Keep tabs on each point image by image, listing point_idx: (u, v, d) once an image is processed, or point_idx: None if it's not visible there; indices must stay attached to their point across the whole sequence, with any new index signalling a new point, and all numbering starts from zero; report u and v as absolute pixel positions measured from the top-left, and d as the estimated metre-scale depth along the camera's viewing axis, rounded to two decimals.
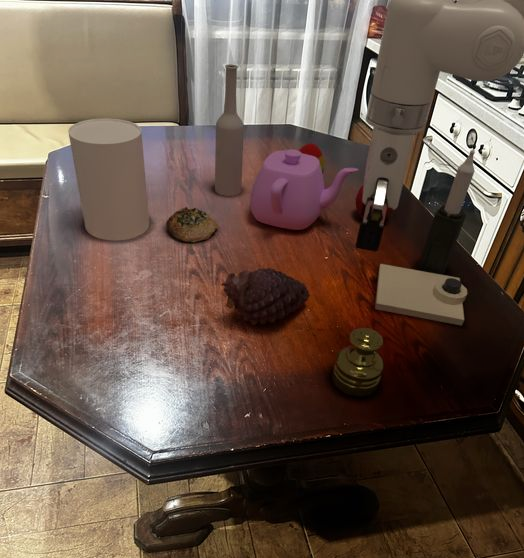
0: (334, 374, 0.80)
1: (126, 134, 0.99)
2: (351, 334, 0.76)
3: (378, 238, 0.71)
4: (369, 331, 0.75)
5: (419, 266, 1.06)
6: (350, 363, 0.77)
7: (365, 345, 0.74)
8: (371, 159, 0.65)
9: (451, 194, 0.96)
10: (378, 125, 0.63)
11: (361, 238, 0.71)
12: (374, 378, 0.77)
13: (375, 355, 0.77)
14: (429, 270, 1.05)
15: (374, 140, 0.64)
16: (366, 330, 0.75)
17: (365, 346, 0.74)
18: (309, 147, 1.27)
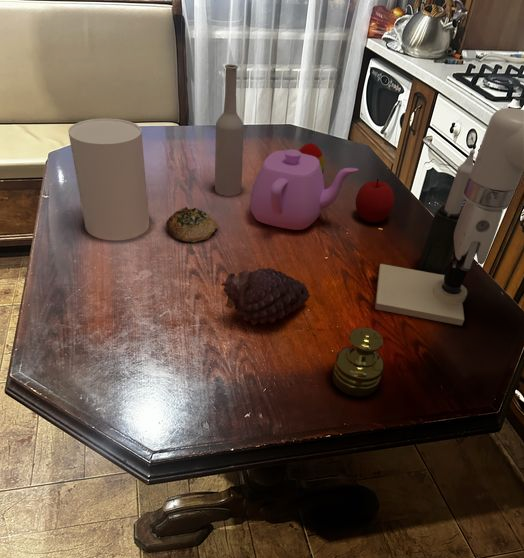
0: (334, 374, 0.80)
1: (126, 134, 0.99)
2: (351, 334, 0.76)
3: (462, 277, 0.95)
4: (369, 331, 0.75)
5: (419, 266, 1.06)
6: (350, 363, 0.77)
7: (365, 345, 0.74)
8: (468, 227, 0.85)
9: (451, 194, 0.96)
10: (475, 203, 0.83)
11: (449, 277, 0.95)
12: (374, 378, 0.77)
13: (375, 355, 0.77)
14: (429, 270, 1.05)
15: (471, 214, 0.84)
16: (366, 330, 0.75)
17: (365, 346, 0.74)
18: (309, 147, 1.27)
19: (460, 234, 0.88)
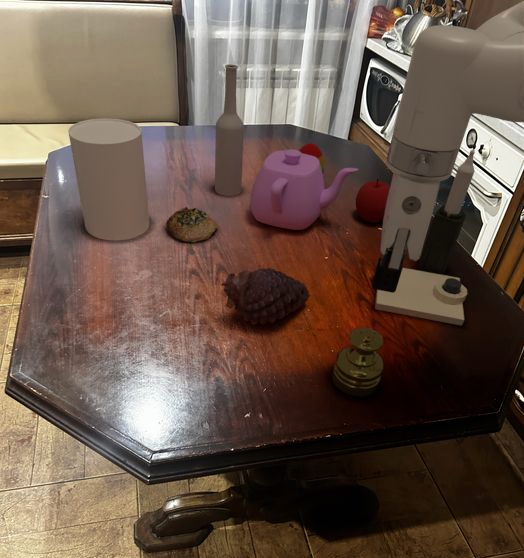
0: (334, 374, 0.80)
1: (126, 134, 0.99)
2: (351, 334, 0.76)
3: (396, 280, 0.68)
4: (369, 331, 0.75)
5: (419, 266, 1.06)
6: (350, 363, 0.77)
7: (365, 345, 0.74)
8: (391, 208, 0.58)
9: (451, 194, 0.96)
10: (401, 171, 0.57)
11: (378, 279, 0.69)
12: (374, 378, 0.77)
13: (375, 355, 0.77)
14: (429, 270, 1.05)
15: (395, 187, 0.58)
16: (366, 330, 0.75)
17: (365, 346, 0.74)
18: (309, 147, 1.27)
19: (385, 218, 0.61)
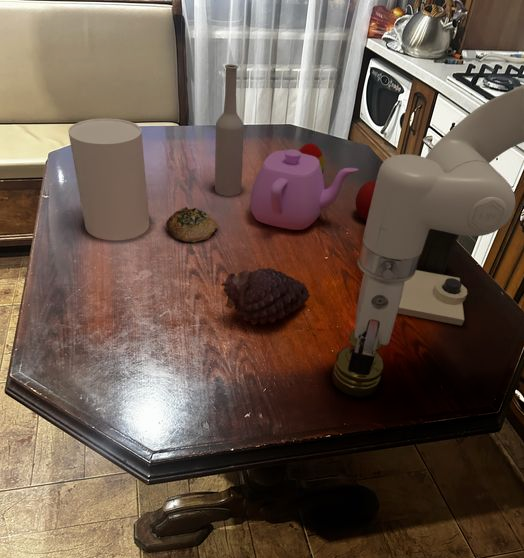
0: (334, 374, 0.80)
1: (126, 134, 0.99)
2: (351, 334, 0.75)
3: (369, 365, 0.74)
4: None
5: (419, 266, 1.06)
6: None
7: None
8: (363, 303, 0.66)
9: None
10: (370, 273, 0.64)
11: (353, 364, 0.75)
12: (374, 378, 0.76)
13: (375, 355, 0.77)
14: (429, 270, 1.05)
15: (365, 286, 0.65)
16: None
17: None
18: (309, 147, 1.27)
19: (357, 308, 0.69)
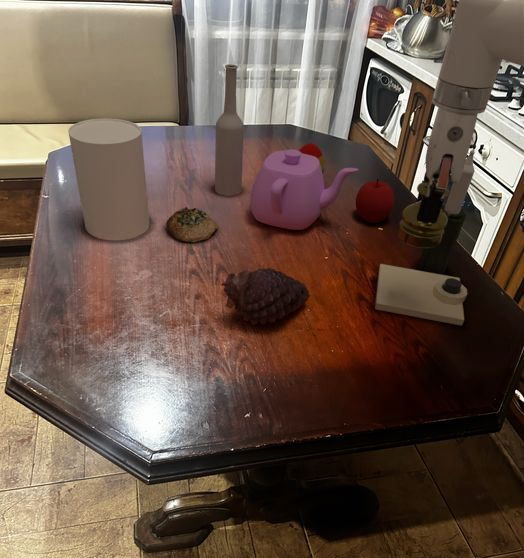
0: (401, 229, 0.86)
1: (126, 134, 0.99)
2: (419, 185, 0.82)
3: (437, 211, 0.81)
4: None
5: (419, 266, 1.06)
6: None
7: None
8: (438, 137, 0.73)
9: (451, 194, 0.96)
10: (446, 106, 0.71)
11: (422, 211, 0.81)
12: (440, 227, 0.83)
13: None
14: (429, 270, 1.05)
15: (441, 120, 0.72)
16: None
17: None
18: (309, 147, 1.27)
19: (431, 149, 0.76)
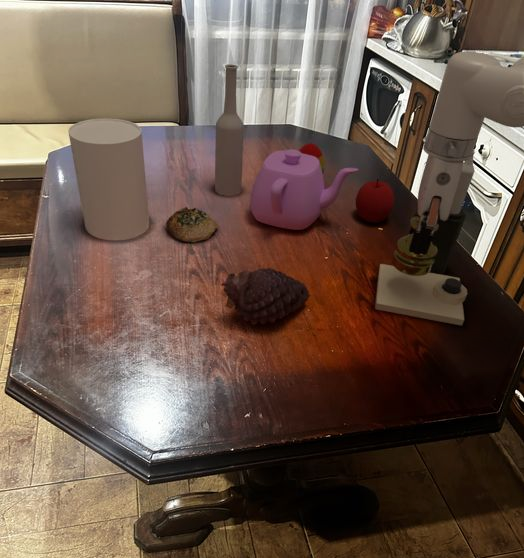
0: (394, 258, 0.95)
1: (126, 134, 0.99)
2: (411, 220, 0.90)
3: (428, 244, 0.89)
4: None
5: None
6: None
7: None
8: (428, 181, 0.81)
9: None
10: (435, 154, 0.79)
11: (414, 243, 0.90)
12: (430, 258, 0.91)
13: None
14: None
15: (431, 166, 0.80)
16: None
17: None
18: (309, 147, 1.27)
19: (422, 189, 0.84)
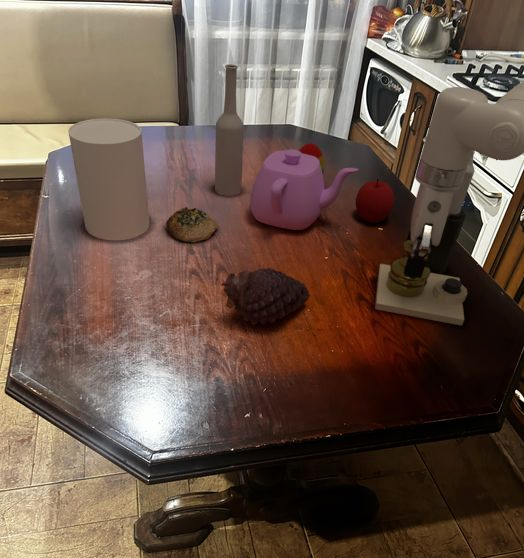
0: (389, 280, 0.98)
1: (126, 134, 0.99)
2: (405, 243, 0.94)
3: (422, 268, 0.91)
4: None
5: None
6: (403, 268, 0.95)
7: None
8: (420, 209, 0.84)
9: None
10: (426, 183, 0.82)
11: (408, 268, 0.91)
12: (423, 280, 0.95)
13: None
14: None
15: (423, 195, 0.83)
16: (417, 239, 0.93)
17: None
18: (309, 147, 1.27)
19: (414, 216, 0.87)
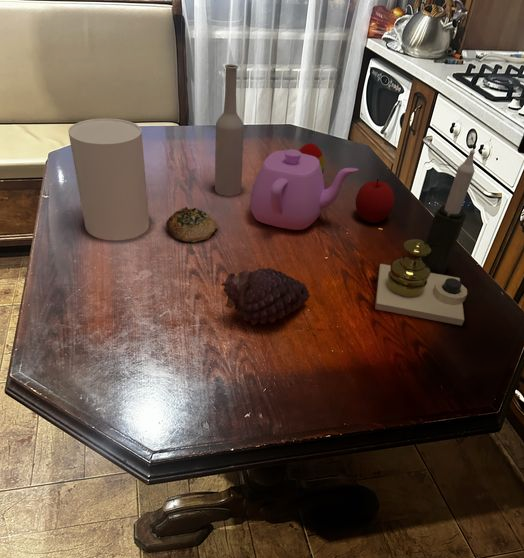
0: (389, 280, 0.98)
1: (126, 134, 0.99)
2: (405, 243, 0.94)
3: None
4: (420, 240, 0.93)
5: None
6: (403, 268, 0.95)
7: (417, 250, 0.92)
8: None
9: (451, 194, 0.96)
10: None
11: None
12: (423, 280, 0.95)
13: (423, 262, 0.95)
14: None
15: None
16: (417, 239, 0.93)
17: (417, 251, 0.92)
18: (309, 147, 1.27)
19: None
